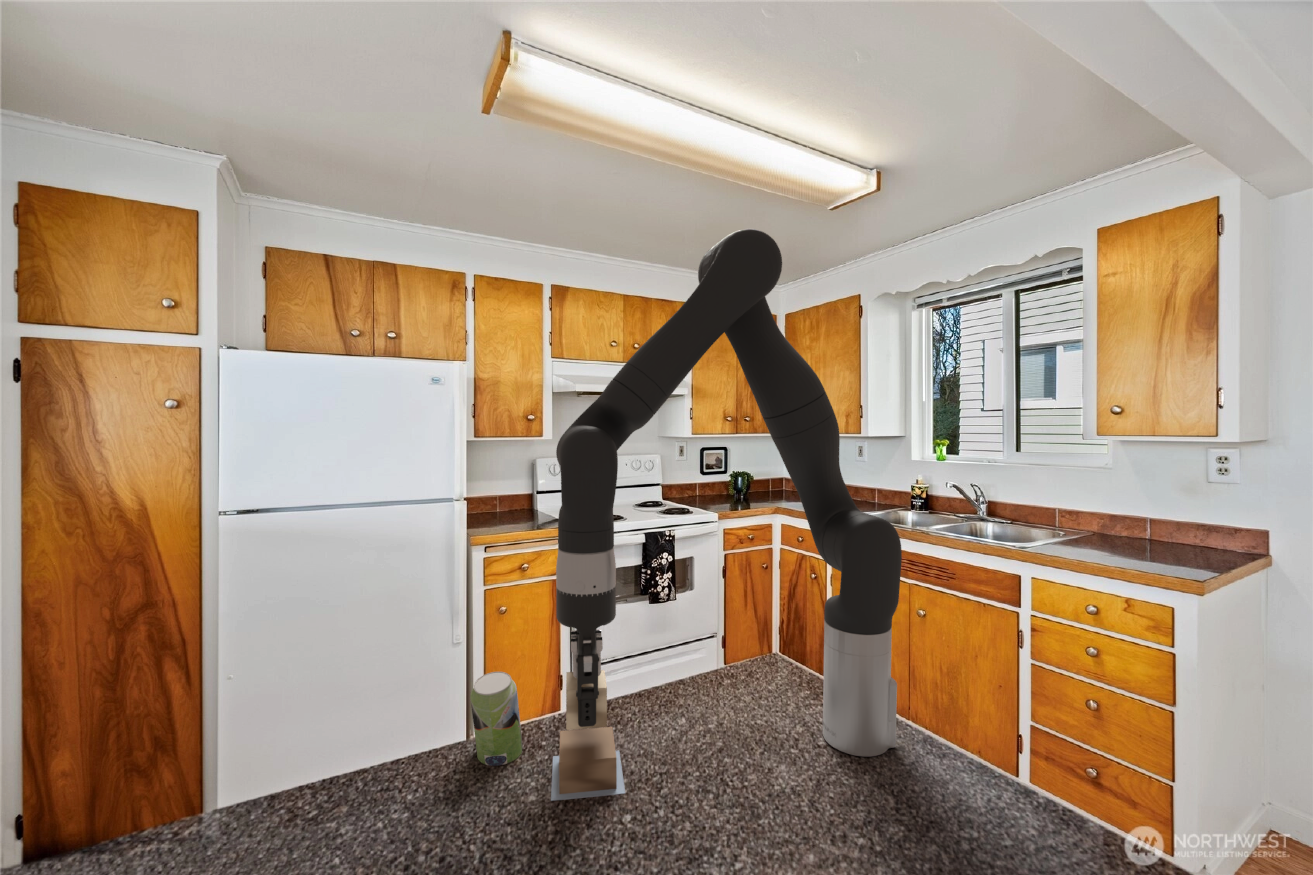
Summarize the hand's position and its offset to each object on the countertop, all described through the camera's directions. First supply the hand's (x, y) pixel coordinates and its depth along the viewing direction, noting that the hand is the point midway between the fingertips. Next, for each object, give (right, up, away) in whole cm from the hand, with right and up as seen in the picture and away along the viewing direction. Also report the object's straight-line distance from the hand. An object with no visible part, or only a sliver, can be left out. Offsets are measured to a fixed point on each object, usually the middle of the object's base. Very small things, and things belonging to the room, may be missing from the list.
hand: (586, 712), depth 74 cm
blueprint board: (+1, -9, +1) cm, 9 cm away
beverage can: (-13, -9, +5) cm, 16 cm away
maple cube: (0, -1, 0) cm, 1 cm away
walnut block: (0, -8, 0) cm, 8 cm away
